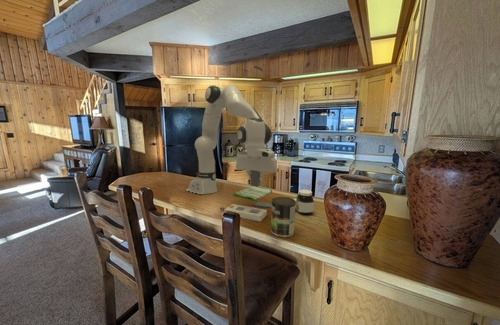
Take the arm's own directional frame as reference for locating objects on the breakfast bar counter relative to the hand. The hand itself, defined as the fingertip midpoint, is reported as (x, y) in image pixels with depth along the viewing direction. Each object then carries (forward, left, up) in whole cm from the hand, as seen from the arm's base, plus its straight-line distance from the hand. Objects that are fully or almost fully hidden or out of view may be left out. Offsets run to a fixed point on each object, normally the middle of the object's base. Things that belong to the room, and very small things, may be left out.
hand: (255, 179), depth 106 cm
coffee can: (+17, -9, -20) cm, 27 cm away
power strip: (-8, 0, -19) cm, 21 cm away
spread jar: (+20, +17, -20) cm, 32 cm away
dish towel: (-15, +35, -20) cm, 43 cm away
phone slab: (0, +18, -20) cm, 27 cm away
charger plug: (0, 0, -3) cm, 3 cm away
